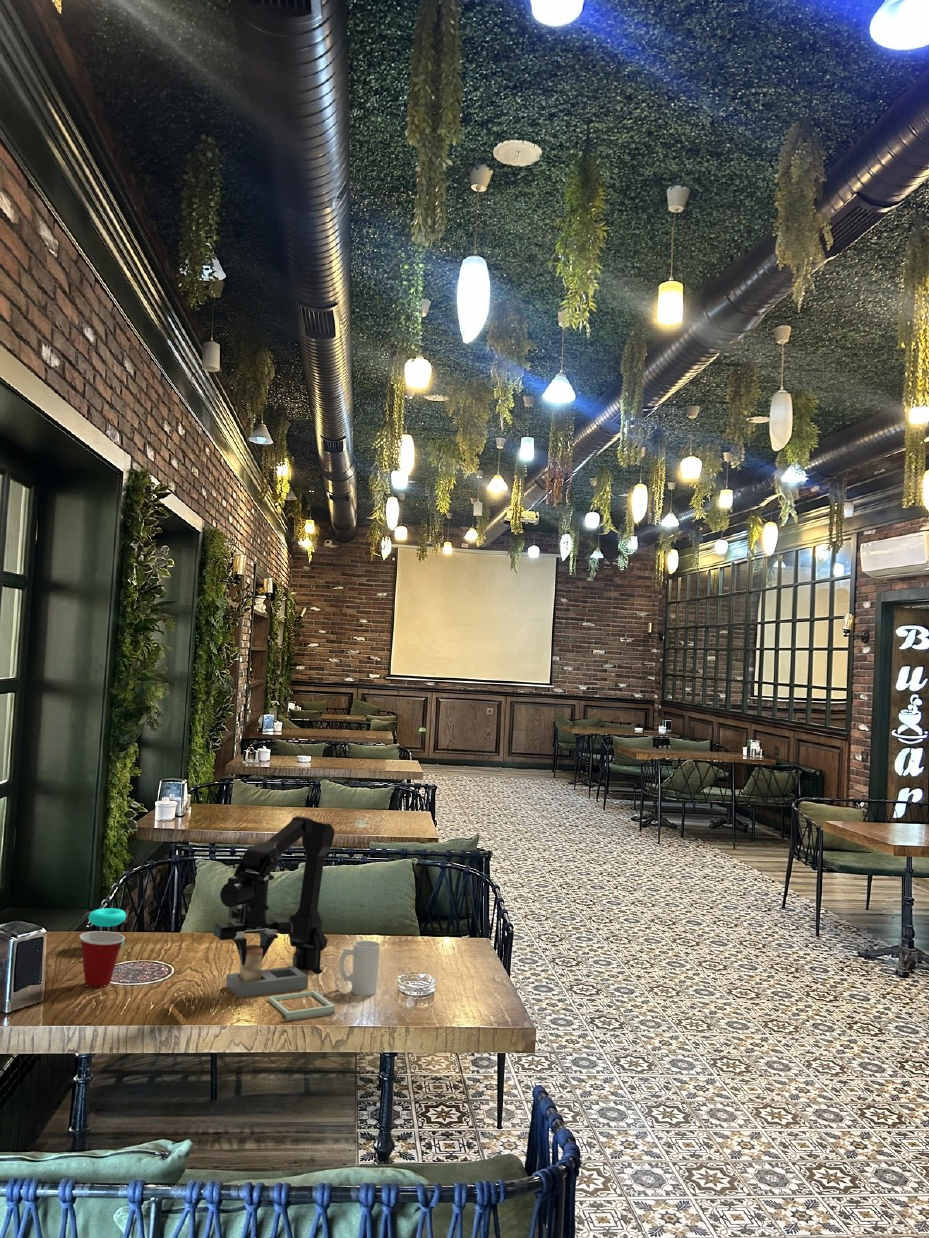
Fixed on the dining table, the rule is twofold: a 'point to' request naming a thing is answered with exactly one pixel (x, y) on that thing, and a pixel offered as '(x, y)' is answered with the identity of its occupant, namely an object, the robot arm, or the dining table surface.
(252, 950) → the plug
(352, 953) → the mug
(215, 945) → the dining table surface
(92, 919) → the donuts
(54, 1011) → the dining table surface
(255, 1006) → the dining table surface
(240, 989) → the grey cinder block
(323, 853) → the robot arm
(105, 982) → the plastic cup
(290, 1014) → the tray
